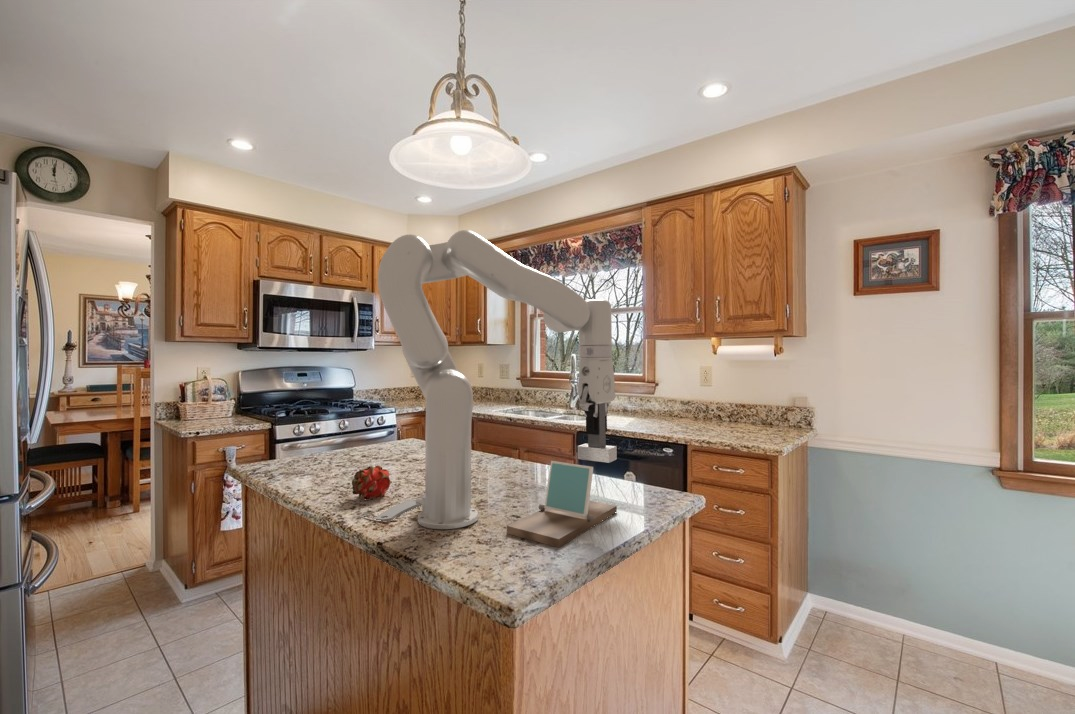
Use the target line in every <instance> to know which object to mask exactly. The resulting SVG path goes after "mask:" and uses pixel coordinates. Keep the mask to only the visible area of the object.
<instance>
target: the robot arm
mask: <svg viewBox="0 0 1075 714" xmlns="http://www.w3.org/2000/svg"><path fill="white" fill-rule="evenodd" d="M377 272H378V273H377V286H378V288H377V289H378V293H379V297H380V300H381V302H382V305H383V307H384V310H385V311H386V314H387V316H388V318H389V320H390V323H391V326H392V328H393V329H394V332H395V334H396V335H397V338H398V339H399V343H400V344H401V345H400V346H401V349H402V351H401V352H402V354H403V357H404V358H405V359H404V360H405V361H406V362H407V365H408V367H409V369H410V371H411V373H412V374H413V377H414V379H415V381H416V383H417V385H418V387H419V388H420V391H421V393H422V395H423V397H424V398H425V427H424V428H425V432H424V434H425V436H424V437H425V438H424V439H425V443H424V444H425V445H424V447H425V451H424V452H425V457H424V458H425V464H424V465H425V466H424V467H425V468H424V469H425V470H424V471H425V472H424V473H425V476H424V477H425V480H424V481H425V482H424V484H425V485H424V486H425V488H424V489H425V490H424V492H422V493H420V496H419V497H416V498H415V500H416V504H418V505H422V506H421V507H422V508H421V510H422V511H420V512H419V513H418V515H417V523H418V525H420V526H422V527H423V528H428V529H433V530H454V529H460V528H465V527H467V526H470V525H473V524H474V523H476V522H477V521H478V519H479V511H477V509H476V508H473V507H472V418H473V408H474V392H473V388H472V385H471V383H470V381H469V378H467V376H465V374H463V373H461V372H459V369H458V368H457V365H456V364H455V361H454V359H453V358H452V357H453V356H452V355H451V353H450V351H449V343H448V339H447V337H446V335H445V333H444V332H443V330H442V328H441V326H440V324H439V322H438V321H437V319H436V316H435V315H434V313H433V311H432V309H431V307H430V303H429V302H428V299H427V297H426V295H425V292H424V288H423V284H428V283H435V282H442V281H447V280H453V279H458V278H462V277H466V276H467V277H469V278H471V279H473V280H475V281H476V282H478V283H479V284H481V285H482V286H484V287H486V288H487V289H488V290H490V291H491V292H493V293H495V294H496V295H498V296H499V297H501V298H503V299H506V300H508V301H512V302H520V303H523V304H526V305H529V306H531V307H533V308H535V309H537V310H539V311H541V312H543V313H542V314H543V316H542V317H543V321H544V324H545V325H546V327H547V328H548V329H549V330H551V331H552V332H555V333H567V332H573V331H574V332H575V331H578V333H579V334H578V349H579V350H578V352H579V353H578V354H579V355H578V356H579V360H580V361H579V369H578V383H577V384H578V400H579V402H580V403H579V407H580V408H581V409H582V410H583V411H584V412H583V413H584V417H585V434H587V435H588V434H592V435H599V433H600V429H599V417H597V416H598V404H601V403H605V429H606V433H607V432H608V413H609V412H608V408H609V406H610V404H611V402H613V401H614V400H615V399H616V384H615V383H616V381H615V371H614V364H613V346H612V345H613V344H612V343H613V341H612V339H613V337H612V334H613V331H612V328H613V327H612V304H611V303H610V301H608V300H606V299H586V300H585V299H584V298H583V296H582V295H580V294H578V292H576V291H575V290H573V289H571V287H569V286H568V285H565V284H564V283H563V282H561V281H560V280H557V279H556V278H553V276H550V275H548V274H546V273H543V272H541V271H539V270H537V269H535V268H532V267H530V266H527V265H525V264H523V263H521V262H520V261H518V260H516V259H515V258H513V257H512V256H510V255H509V254H508V253H506V252H504V251H503V250H502V249H500V248H499V247H497V246H496V245H494V244H493V243H491V242H490V241H488V240H487V239H485V238H484V237H483V236H481V235H480V234H478V233H476V232H474V231H472V230H468V229H462V230H459V231H456V232H454V233H453V235H452V236H450V237H449V239H448V240H447V241H445V242H441V243H435V244H428V243H427V242H426V240H424V239H423V238H422V237H421V236H419V235H416V234H404V235H400V236H399V237H397V238H396V239H394V241H393V242H391V244H390V245H389V246H388V247H387V248H386V249H385V252H384V254H383V255H382V258H381V259H380V263H379V266H378V271H377ZM589 400H590V401H594V403H589ZM592 406H593V408H592Z"/></svg>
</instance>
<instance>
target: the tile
mask: <svg viewBox="0 0 1075 714" xmlns="http://www.w3.org/2000/svg"><path fill="white" fill-rule="evenodd" d="M549 467H550V468H549V473H548V479H547V480H548V481H547V488H546V494H545V499H544V500H545V501H544V502H545V503H544V505H545V507H544V508H547V509H552V510H556V511H561V512H565V513H570V514H574V515H579V516H584V517H587V515H588V507H589V501H590V499H591V498H590V497H591V491H592V490H591V489H592V482H593V475H594V474H593V473H594V466H592V465H591V466H590V465H584V464H583V465H582V464H577V463H576V464H575V463H568V462H564V461H562V462H561V461H556V460H550V466H549Z"/></svg>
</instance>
